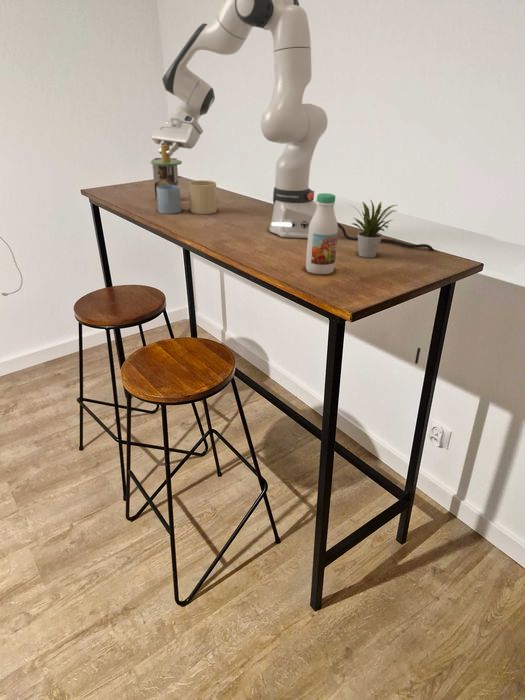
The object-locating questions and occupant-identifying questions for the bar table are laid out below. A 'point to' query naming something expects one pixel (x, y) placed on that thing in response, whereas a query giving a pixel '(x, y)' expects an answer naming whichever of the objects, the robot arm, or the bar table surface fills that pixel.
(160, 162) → the lid
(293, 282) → the bar table surface
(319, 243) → the milk bottle
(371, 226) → the house plant
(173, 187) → the cup
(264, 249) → the bar table surface
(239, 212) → the bar table surface
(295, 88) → the robot arm
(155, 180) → the coffee box
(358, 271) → the bar table surface
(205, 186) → the wooden container
